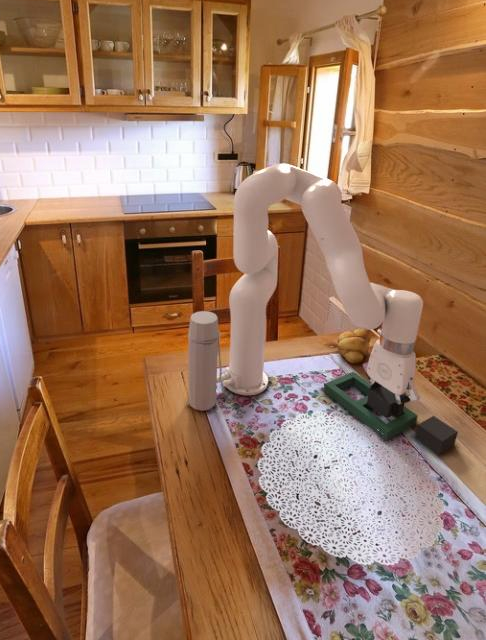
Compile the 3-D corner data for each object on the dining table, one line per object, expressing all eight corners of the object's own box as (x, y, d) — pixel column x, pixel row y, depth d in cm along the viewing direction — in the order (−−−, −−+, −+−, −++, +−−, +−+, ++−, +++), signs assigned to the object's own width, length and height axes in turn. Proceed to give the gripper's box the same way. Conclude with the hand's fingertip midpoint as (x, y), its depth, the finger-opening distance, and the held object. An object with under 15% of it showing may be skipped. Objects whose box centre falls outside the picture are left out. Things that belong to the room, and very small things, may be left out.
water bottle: (197, 417, 100) (198, 328, 92) (182, 399, 106) (182, 314, 98) (228, 404, 105) (231, 318, 97) (212, 387, 111) (214, 305, 103)
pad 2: (438, 455, 91) (442, 441, 89) (414, 438, 96) (417, 424, 94) (454, 445, 94) (458, 431, 92) (430, 428, 98) (433, 415, 97)
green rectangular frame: (386, 440, 95) (388, 432, 94) (323, 391, 111) (324, 383, 110) (416, 423, 100) (418, 415, 99) (352, 378, 116) (353, 371, 116)
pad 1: (386, 418, 97) (389, 405, 96) (366, 404, 102) (368, 390, 100) (402, 410, 100) (405, 396, 98) (382, 396, 105) (384, 383, 103)
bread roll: (365, 369, 121) (369, 346, 118) (331, 361, 125) (335, 338, 122) (369, 348, 132) (373, 326, 129) (338, 341, 136) (341, 320, 133)
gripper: (356, 330, 100) (347, 391, 106) (420, 366, 86) (405, 434, 92) (377, 322, 103) (367, 382, 109) (441, 356, 89) (426, 422, 95)
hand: (384, 405), depth 101 cm, fingers closed on pad 1, 5 cm apart
